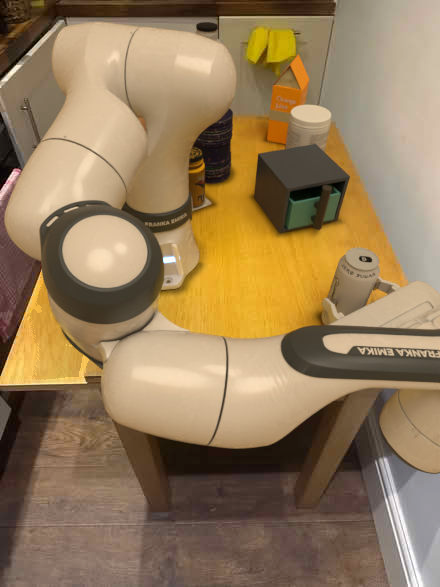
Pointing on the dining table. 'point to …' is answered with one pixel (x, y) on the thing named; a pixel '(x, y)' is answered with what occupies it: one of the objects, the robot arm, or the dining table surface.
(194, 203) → the condiment
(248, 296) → the dining table surface
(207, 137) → the storage jar
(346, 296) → the energy drink can
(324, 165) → the small drawer cabinet
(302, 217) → the cabinet drawer
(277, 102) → the orange juice
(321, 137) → the supplement tub
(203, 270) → the dining table surface
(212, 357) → the robot arm
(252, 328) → the dining table surface
